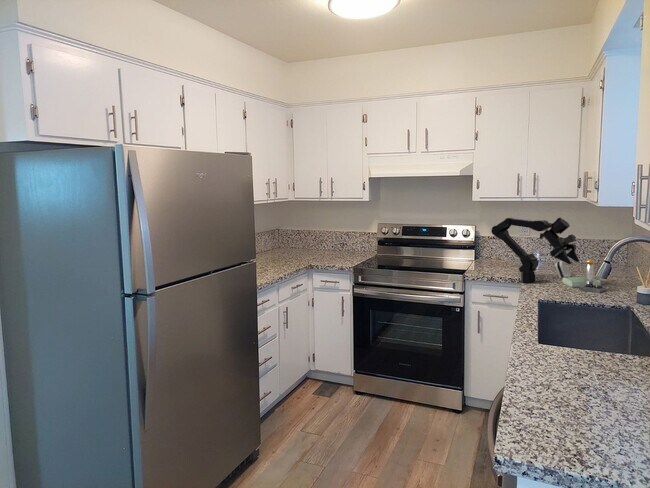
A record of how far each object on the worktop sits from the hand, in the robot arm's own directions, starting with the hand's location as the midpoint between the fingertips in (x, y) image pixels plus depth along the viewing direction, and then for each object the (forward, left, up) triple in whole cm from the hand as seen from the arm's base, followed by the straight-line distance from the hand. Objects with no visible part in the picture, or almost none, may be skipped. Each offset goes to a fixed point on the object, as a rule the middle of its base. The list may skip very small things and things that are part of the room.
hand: (574, 262), depth 235 cm
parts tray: (+7, +8, -13) cm, 16 cm away
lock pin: (+5, -6, -13) cm, 15 cm away
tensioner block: (+5, -7, -13) cm, 16 cm away
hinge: (+9, +36, -13) cm, 39 cm away
